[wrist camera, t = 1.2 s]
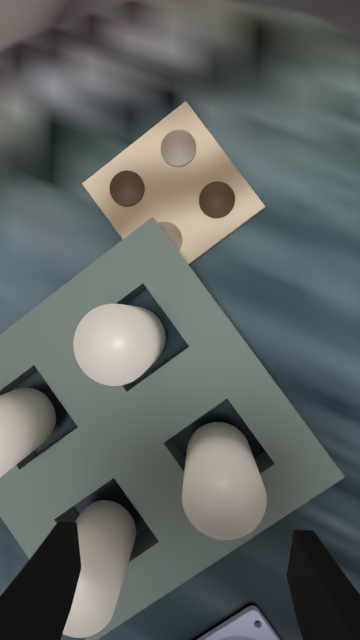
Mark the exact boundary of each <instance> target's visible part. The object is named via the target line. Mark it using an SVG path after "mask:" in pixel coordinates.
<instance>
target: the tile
mask: <svg viewBox="0 0 360 640" xmlns="http://www.w3.org/2000/svg"><path fill="white" fill-rule="evenodd" d="M82 184H83V186H84V187H85V188H86V190H87V191H88V192H89V194H90V195H91V197H92V198H93V199H94V201H95V202H96V203H97V205H98V206H99V207H100V209H101V210H102V212H103V213H104V214H105V216H106V217H107V218H108V220H109V221H110V223H111V224H112V225H113V227H114V228H115V229H116V231H117V232H118V233H119V235H120V236H121V238H122V239H124V238H126V237H127V236H128V235H130V234H131V233H132V232H133V231H135V230H136V229H137V228H139V227H140V226H141V225H143V224H144V223H145V222H146V221H148V220H149V219H150V218H152V217H154V219H155V220H156V221H157V223H158V224H159V225H160V227H161V228H162V229H163V231H164V232H165V234H166V235H167V236H168V238H169V239H170V240H171V242H172V243H173V244H174V246H175V247H176V248H177V250H178V251H179V253H180V254H181V255H182V257H183V258H184V259H185V261H186V262H187V263H188V265H189V264H191V263H192V262H193V261H195V260H196V259H197V258H199V257H200V256H201V255H203V254H204V253H206V252H207V251H208V250H210V249H211V248H212V247H214V246H215V245H216V244H218V243H219V242H220V241H222V240H223V239H224V238H226V237H227V236H228V235H230V234H231V233H232V232H234V231H235V230H236V229H238V228H239V227H240V226H242V225H243V224H244V223H246V222H247V221H248V220H250V219H251V218H252V217H254V216H255V215H256V214H258V213H259V212H260V211H262V210H263V209H264V208H265V206H264V204H263V203H262V202H261V200H260V199H259V198H258V196H257V195H256V194H255V192H254V191H253V190H252V188H251V187H250V186H249V184H248V183H247V182H246V180H245V179H244V178H243V176H242V175H241V174H240V172H239V171H238V170H237V168H236V167H235V166H234V164H233V163H232V162H231V160H230V159H229V158H228V156H227V155H226V154H225V153H224V151H223V150H222V149H221V147H220V146H219V145H218V143H217V142H216V141H215V139H214V138H213V137H212V135H211V134H210V133H209V131H208V130H207V129H206V127H205V126H204V125H203V123H202V122H201V121H200V119H199V118H198V117H197V115H196V114H195V113H194V111H193V110H192V109H191V107H190V106H189V105H188V103H187V102H186V101H185V102H184V103H183V104H182V105H180V106H179V107H178V108H177V109H175V110H174V111H173V112H172V113H170V114H169V115H168V116H167V117H165V118H164V119H163V120H162V121H160V122H159V123H158V124H156V125H155V126H154V127H153V128H151V129H150V130H149V131H148V132H146V133H145V134H144V135H143V136H141V137H140V138H139V139H138V140H136V141H135V142H134V143H133V144H131V145H130V146H129V147H128V148H126V149H125V150H124V151H123V152H121V153H120V154H119V155H118V156H116V157H115V158H114V159H113V160H111V161H110V162H109V163H108V164H106V165H105V166H104V167H103V168H101V169H100V170H99V171H98V172H96V173H95V174H94V175H92V176H91V177H90V178H89V179H87V180H86V181H85V182H84V183H82Z"/></svg>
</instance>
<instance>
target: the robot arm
mask: <svg viewBox="0 0 360 640" xmlns="http://www.w3.org/2000/svg"><path fill="white" fill-rule="evenodd" d="M80 571H81V558H80V549H79V539H78V529H77V522H58V523H57V524H56V525H55V526H54V527H53V529H52V530H51V531H50V533H49V534H48V536H47V537H46V538H45V540H44V541H43V542H42V544H41V545H40V546H39V548H38V549H37V550H36V552H35V553H34V554H33V556H32V557H31V558H30V560H29V561H28V562H27V563H26V565H25V566H24V567H23V569H22V570H21V571H20V572H19V574H18V575H17V576H16V577H15V579H14V580H13V581H12V582H11V584H10V585H9V586H8V587H7V589H6V590H5V591H4V592H3V594H2V595H1V596H0V640H60V639H61V636H62V633H63V630H64V628H65V625H66V622H67V619H68V616H69V613H70V610H71V606H72V603H73V599H74V595H75V591H76V587H77V583H78V579H79V575H80ZM287 578H288V583H289V587H290V592H291V596H292V600H293V605H294V609H295V613H296V617H297V621H298V624H299V627H300V630H301V634H302V637H303V640H360V594H359V593H358V592H357V590H356V589H355V588H354V586H353V585H352V584H351V582H350V581H349V580H348V578H347V577H346V575H345V574H344V573H343V571H342V570H341V569H340V567H339V566H338V564H337V563H336V562H335V560H334V559H333V557H332V556H331V555H330V553H329V552H328V550H327V549H326V548H325V546H324V545H323V543H322V542H321V540H320V539H319V538H318V536H317V535H316V533H315V532H314V531H309V530H294V534H293V540H292V547H291V553H290V559H289V565H288V572H287ZM257 620H258V621H259V622H255V621H257ZM197 640H280V638H279V637H278V636H277V634H276V633H275V631H274V630H273V629H272V627H271V626H270V624H269V623H268V622H267V620H266V619H265V617H264V616H263V615H262V613H261V612H260V610H259V609H258V608H257V607H255V606H249V607H247V608H245V609H244V610H242V611H241V612H239V613H238V614H236V615H234V616H233V617H231V618H230V619H228V620H227V621H225V622H223V623H222V624H220V625H219V626H217V627H216V628H214V629H212V630H211V631H209V632H208V633H206V634H205V635H203V636H201V637H200V638H198V639H197Z"/></svg>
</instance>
